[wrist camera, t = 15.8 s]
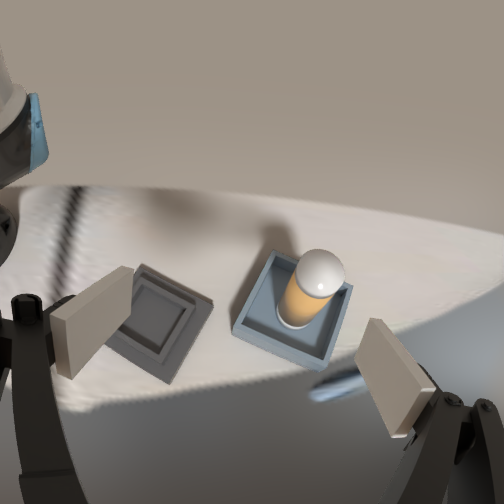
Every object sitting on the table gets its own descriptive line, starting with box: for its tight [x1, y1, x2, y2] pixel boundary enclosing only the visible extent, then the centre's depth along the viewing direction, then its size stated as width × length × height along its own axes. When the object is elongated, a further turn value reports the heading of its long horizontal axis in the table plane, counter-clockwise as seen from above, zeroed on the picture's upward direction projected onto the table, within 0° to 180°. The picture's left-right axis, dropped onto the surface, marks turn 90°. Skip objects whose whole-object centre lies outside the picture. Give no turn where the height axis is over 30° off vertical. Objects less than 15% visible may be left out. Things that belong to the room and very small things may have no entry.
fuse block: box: [104, 267, 214, 385], centre depth 36 cm, size 12×12×2 cm
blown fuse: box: [276, 249, 345, 331], centre depth 35 cm, size 5×5×12 cm
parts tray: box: [232, 250, 353, 372], centre depth 39 cm, size 12×12×4 cm
